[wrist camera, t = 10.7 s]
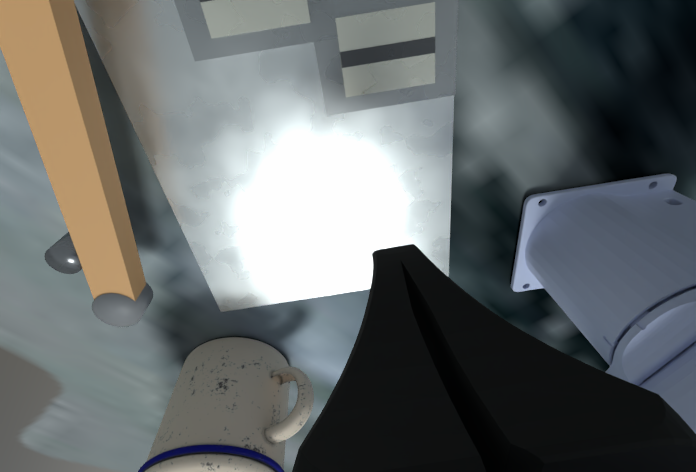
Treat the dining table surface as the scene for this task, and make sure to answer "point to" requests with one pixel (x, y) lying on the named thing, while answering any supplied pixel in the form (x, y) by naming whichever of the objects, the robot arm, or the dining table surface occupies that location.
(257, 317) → the dining table surface
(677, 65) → the dining table surface
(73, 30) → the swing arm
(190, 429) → the teacup with lid
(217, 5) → the base plate
